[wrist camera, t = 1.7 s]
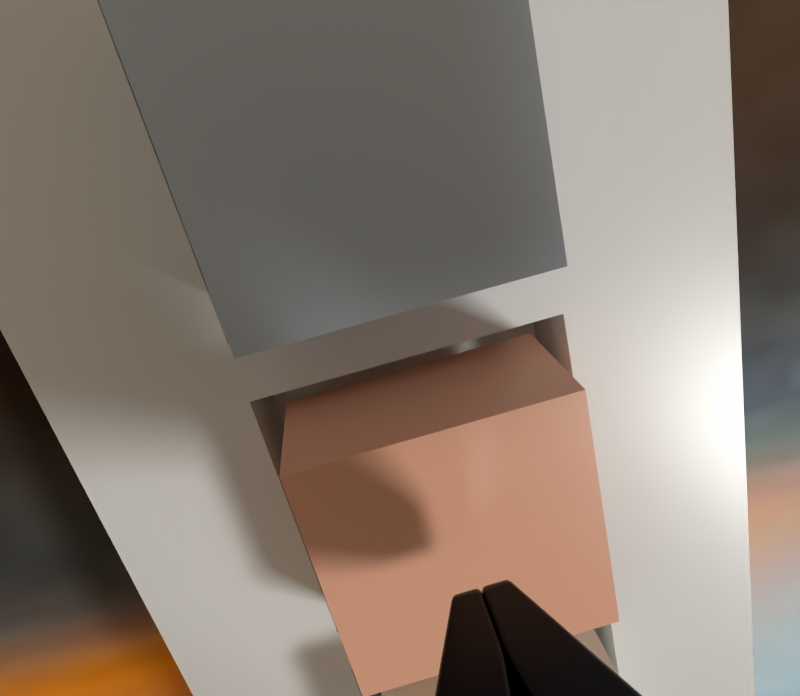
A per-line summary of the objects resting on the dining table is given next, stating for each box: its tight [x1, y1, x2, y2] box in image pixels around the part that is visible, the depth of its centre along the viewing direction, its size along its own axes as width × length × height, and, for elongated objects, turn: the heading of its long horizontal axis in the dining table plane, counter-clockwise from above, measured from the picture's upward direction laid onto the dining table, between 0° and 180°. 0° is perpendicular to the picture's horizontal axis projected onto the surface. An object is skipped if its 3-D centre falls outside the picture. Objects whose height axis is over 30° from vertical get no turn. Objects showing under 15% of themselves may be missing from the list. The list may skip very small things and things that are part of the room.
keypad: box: [0, 0, 755, 696], centre depth 15 cm, size 27×12×5 cm, turn 14°
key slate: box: [99, 0, 567, 359], centre depth 9 cm, size 5×5×2 cm
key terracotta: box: [279, 333, 619, 696], centre depth 11 cm, size 5×5×2 cm
